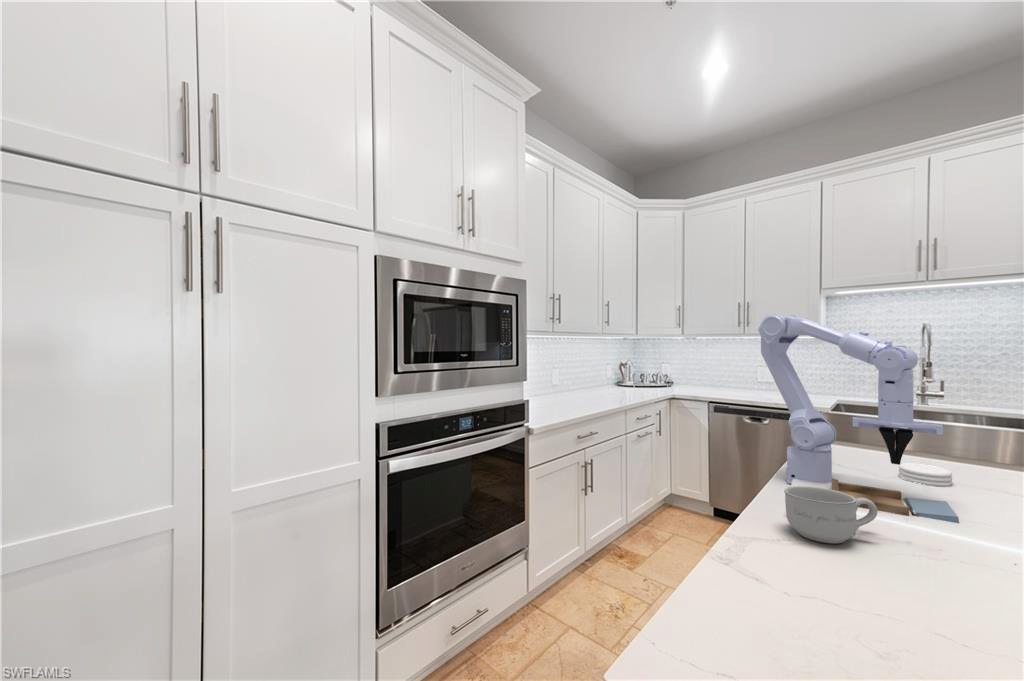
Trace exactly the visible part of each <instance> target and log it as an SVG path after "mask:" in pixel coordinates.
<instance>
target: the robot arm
mask: <svg viewBox="0 0 1024 681" xmlns="http://www.w3.org/2000/svg"><path fill="white" fill-rule="evenodd" d="M757 331H758V332H759V335H760V353H761V356H762V358H763V360H764V362H765V364H766V365H767V366H766V367H767V368H768V370H769V372H770V374H771V376H772V378H773V380H774V382H775V384H776V387H777V389H778V390H779V394H780V395H781V397H782V399H783V401H784V403H785V405H786V407H787V409H788V411H789V413H790V416H789V418H788V425H789V427H790V437H791V440H792V442H793V443H794V444H795V445H796V446H793V445H792V446H791V445H788V446H787V448H786V467H785V474H786V479H787V480H786V483H787V484H790V485H792V483H793V479H796V480H801V481H807V482H811V483H819V484H828V483H829V484H831V483H832V479H833V472H832V470H833V468H832V467H833V457H832V456H833V454H832V450H833V449H832V444H834V442H835V441H836V439H837V436H838V434H837V431H836V430H837V429H836V428H835V427H834V426H833V424H831V423H830V422H829V421H827V419H826V417H825V416H824V414H823V413H822V412H820V411H819V410H818V409H817V408H815V407H814V404H813V403H812V400H811V398H810V397H809V394H808V393H807V391H806V389H805V387H804V385H803V383H802V381H801V379H800V377H799V375H798V373H797V371H796V370H795V368H794V365H793V364H792V362H791V359H790V357H789V356H788V354H787V352H788V349H789V347H790V346H791V345H792V344H793V343H794V342H795V341H796V340H797V339H798V337H799V336H809V337H812V338H814V339H818V340H820V341H823V342H827V343H829V344H831V345H835V346H838V348H839V349H840V352H841V353H842V354H844V355H846V356H849V357H850V358H851V357H852V358H853V359H856V360H859V361H862V362H865V363H866V364H870V365H873V366H875V368H876V369H877V370H878V380H877V381H878V383H877V387H878V388H877V389H878V390H877V394H878V396H877V398H878V399H877V401H878V402H877V404H878V405H877V414H878V415H877V416H878V417H877V418H875V417H856V416H853V417H852V427H854V428H855V427H856V428H859V427H860V428H861V427H862V428H870V429H878V431H879V432H880V433H879V434H880V435H881V436H882V438H883V441H884V442H885V445H886V448H887V450H888V454H889V460H890V463H891V464H892V465H898V466H899V465H900V464H901V462H902V457H903V455H904V452H905V450H906V449H907V446H909V443H910V442H911V440H912V439H913V437H914V433H923V434H931V435H932V434H934V435H938V436H939V435H940V436H943V435H944V426H943V425H942V424H940V423H939V424H938V423H929V422H920V421H914V370H913V369H914V368H915V367H917V364H918V362H919V357H918V354H917V353H916V352H915V351H914V350H913V349H911V348H909V347H907V346H906V345H895V346H893V341H891V340H888V339H887V340H886V339H885V340H882V339H879V338H875V337H873V336H870V335H869V332H867V331H864V330H863V331H862V330H860V331H859V332H858V331H852V332H849V333H845V332H842V331H840V330H837V329H835V328H832V327H830V326H827V325H824V324H822V323H820V322H817V321H815V320H812V319H808V318H804V317H799V316H796V315H780V314H775V313H773V314H772V313H771V314H769V315H767V316H765V317H764V318H763V319H762V321H761V322H760V325H759V327H758V329H757Z"/></svg>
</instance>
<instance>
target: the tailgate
mask: <svg viewBox="0 0 1024 681" xmlns="http://www.w3.org/2000/svg"><path fill="white" fill-rule="evenodd" d="M903 501H904V502H905V506H908V507H909V513H910V515H911V516H912V517H920V518H927V519H932V520H937V521H943V522H950V523H953V524H955V523H956V524H960V518H959V516H958V514H956V512H955V511H954V509H953V508H952V507H951V505H950V504H949V503H948V502H947V501H945V500H934V499H925V498H913V497H905V498H903Z"/></svg>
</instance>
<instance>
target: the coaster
mask: <svg viewBox="0 0 1024 681" xmlns="http://www.w3.org/2000/svg"><path fill="white" fill-rule="evenodd" d="M899 476H900V477H902V478H904V479H906V480H909V481H912V482H911V483H913V482H917V483H916V484H918V483H921V484H920V485H923V484H925V485H924V486H929V485H932V486H931V487H942V488H943V487H944V488H945V487H951V486H953V473H952V472H951V470H949V469H946V468H944V467H940V466H935V465H931V464H930V465H929V464H923V463H917V462H905V463H903V462H902V463H900V465H898V477H899ZM900 477H899V478H900ZM902 478H901V479H902ZM904 479H903V480H904ZM906 480H905V481H906ZM909 481H908V482H909Z"/></svg>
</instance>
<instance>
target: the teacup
mask: <svg viewBox="0 0 1024 681" xmlns="http://www.w3.org/2000/svg"><path fill="white" fill-rule="evenodd" d="M783 491H784V496H785V497H784V498H785V499H784V501H785V512H786V520H787V522H788V523H789V525H790V526H791V527H792V528H793V529H794V530H795V531H797V533H798V534H800V536H802V537H804V538H806V539H809V540H811V541H814V542H818V543H819V542H820V543H825V544H841V543H845V542H846V541H847V540H849V539H852V538H853V537H854V536H855V534H856V531H857V530H858V529H859V528H860V527H862V526H864V525H867V524H869V523H871V522H872V521H874V520H875V519H876V517H877V516H878V511H877V508H876V506H875V504H874V503H873V502H872V501H870V500H868V499H866V498H857V499H855V498H854V497H853V496H851V495H849V494H846V493H843V492H840V491H835V490H832V488H831V489H829V488H825V487H824V488H823V487H817V486H807V485H806V486H805V485H798V486H797V485H796V486H795V485H793V486H788V487H786V488H784V490H783ZM861 504H867V505H868V507H869V509H868V510H869V511H868V513H867V514H866V515H864V516H862V517H861V518H858V519H857V512H858V508H859V507H858V506H860V505H861Z"/></svg>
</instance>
